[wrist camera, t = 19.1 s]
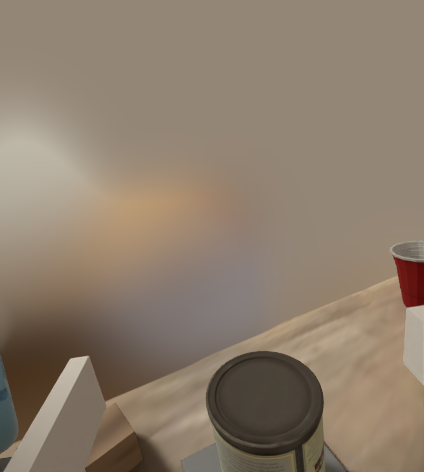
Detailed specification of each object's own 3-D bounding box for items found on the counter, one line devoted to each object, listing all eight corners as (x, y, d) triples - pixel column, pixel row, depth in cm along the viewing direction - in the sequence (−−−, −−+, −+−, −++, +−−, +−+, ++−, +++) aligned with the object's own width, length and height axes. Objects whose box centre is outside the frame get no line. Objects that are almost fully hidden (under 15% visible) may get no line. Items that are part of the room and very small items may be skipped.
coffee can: (231, 444, 37) (214, 351, 33) (318, 447, 35) (312, 349, 31) (221, 554, 27) (194, 443, 23) (340, 568, 25) (336, 449, 21)
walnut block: (81, 460, 39) (70, 432, 37) (124, 429, 42) (115, 402, 41) (97, 498, 34) (84, 468, 33) (143, 460, 38) (134, 431, 36)
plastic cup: (412, 285, 65) (416, 233, 61) (469, 307, 55) (477, 247, 51) (375, 301, 62) (376, 247, 58) (428, 328, 52) (434, 265, 48)
